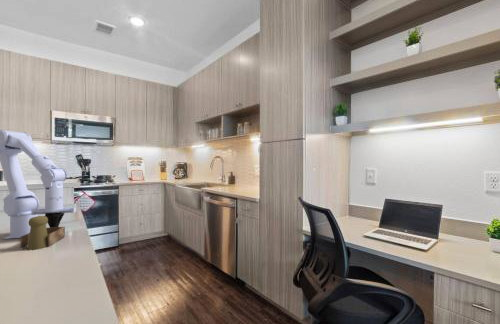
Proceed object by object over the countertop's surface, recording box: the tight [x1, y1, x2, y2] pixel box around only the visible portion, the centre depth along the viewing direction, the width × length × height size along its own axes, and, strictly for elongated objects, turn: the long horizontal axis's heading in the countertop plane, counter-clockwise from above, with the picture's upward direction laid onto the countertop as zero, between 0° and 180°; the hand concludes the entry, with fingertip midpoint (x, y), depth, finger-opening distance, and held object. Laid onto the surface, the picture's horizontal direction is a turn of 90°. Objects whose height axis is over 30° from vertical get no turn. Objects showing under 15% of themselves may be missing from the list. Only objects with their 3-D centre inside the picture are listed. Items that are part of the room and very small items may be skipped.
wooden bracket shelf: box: [19, 226, 66, 249], centre depth 89 cm, size 11×9×4 cm
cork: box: [26, 215, 49, 251], centre depth 85 cm, size 6×6×11 cm
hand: (54, 231), depth 95 cm, fingers closed, pressing on wooden bracket shelf
